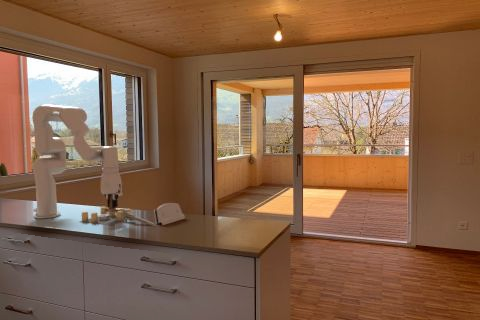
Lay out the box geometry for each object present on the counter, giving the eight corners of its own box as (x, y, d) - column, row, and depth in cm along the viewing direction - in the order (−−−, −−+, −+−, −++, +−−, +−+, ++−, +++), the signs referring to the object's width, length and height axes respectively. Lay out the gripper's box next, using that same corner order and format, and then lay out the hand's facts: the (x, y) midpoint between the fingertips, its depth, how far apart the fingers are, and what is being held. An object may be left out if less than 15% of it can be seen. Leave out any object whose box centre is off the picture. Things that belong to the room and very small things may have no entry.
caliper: (121, 221, 180) (121, 209, 179) (122, 221, 181) (122, 209, 180) (155, 226, 172) (155, 214, 171) (156, 226, 173) (156, 213, 172)
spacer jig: (78, 223, 179) (77, 213, 178) (104, 215, 195) (103, 206, 195) (110, 226, 171) (109, 216, 171) (134, 218, 188) (134, 208, 188)
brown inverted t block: (104, 211, 178) (106, 193, 180) (114, 212, 184) (116, 194, 186) (109, 212, 177) (111, 193, 178) (118, 212, 183) (120, 195, 185)
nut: (95, 220, 182) (95, 216, 182) (104, 217, 188) (103, 213, 187) (103, 220, 180) (103, 216, 180) (111, 218, 186) (111, 214, 186)
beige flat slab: (162, 225, 173) (157, 205, 174) (156, 227, 176) (150, 207, 177) (185, 218, 187) (180, 199, 188) (179, 220, 190) (174, 201, 191)
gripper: (92, 171, 179) (94, 207, 181) (118, 171, 174) (120, 209, 175) (103, 169, 186) (105, 204, 188) (128, 170, 181) (130, 206, 182)
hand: (112, 206), depth 181 cm, fingers closed on brown inverted t block, 2 cm apart
